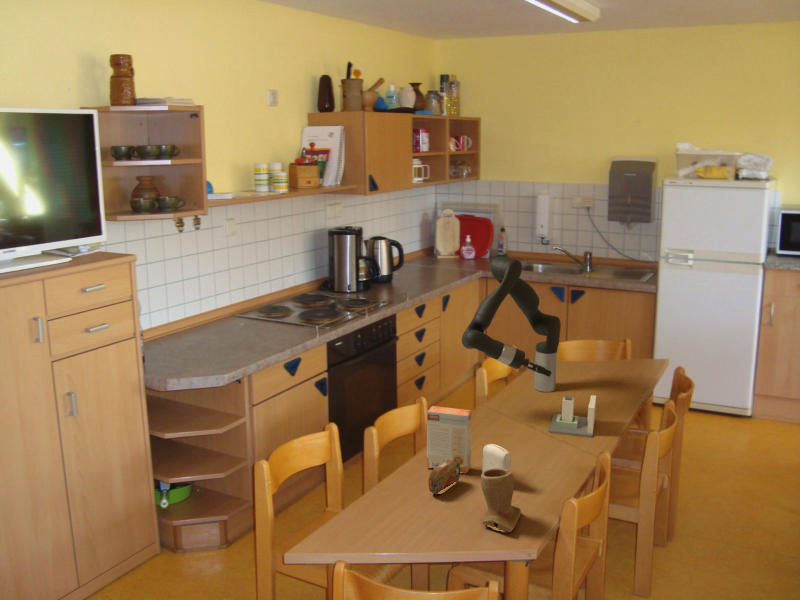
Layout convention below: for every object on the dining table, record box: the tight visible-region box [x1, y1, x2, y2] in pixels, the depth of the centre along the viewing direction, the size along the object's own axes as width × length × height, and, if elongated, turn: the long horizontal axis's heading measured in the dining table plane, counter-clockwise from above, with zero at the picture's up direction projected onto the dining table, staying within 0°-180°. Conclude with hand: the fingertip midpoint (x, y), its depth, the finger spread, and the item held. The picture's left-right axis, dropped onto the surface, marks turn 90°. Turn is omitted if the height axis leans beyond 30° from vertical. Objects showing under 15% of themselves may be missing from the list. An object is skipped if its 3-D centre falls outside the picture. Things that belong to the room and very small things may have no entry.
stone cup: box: [480, 468, 522, 533], centre depth 227 cm, size 15×12×15 cm
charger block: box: [561, 395, 575, 422], centre depth 298 cm, size 4×4×11 cm
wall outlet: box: [548, 394, 597, 438], centre depth 298 cm, size 18×16×11 cm
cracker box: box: [426, 405, 473, 474], centre depth 260 cm, size 14×6×21 cm, turn 71°
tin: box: [428, 460, 461, 495], centre depth 247 cm, size 15×3×8 cm, turn 143°
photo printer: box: [482, 443, 512, 473], centre depth 252 cm, size 10×4×12 cm, turn 39°
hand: (547, 372), depth 304 cm, fingers open, 8 cm apart
